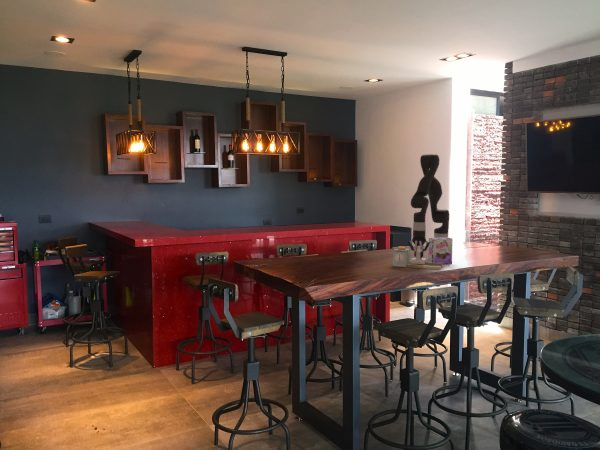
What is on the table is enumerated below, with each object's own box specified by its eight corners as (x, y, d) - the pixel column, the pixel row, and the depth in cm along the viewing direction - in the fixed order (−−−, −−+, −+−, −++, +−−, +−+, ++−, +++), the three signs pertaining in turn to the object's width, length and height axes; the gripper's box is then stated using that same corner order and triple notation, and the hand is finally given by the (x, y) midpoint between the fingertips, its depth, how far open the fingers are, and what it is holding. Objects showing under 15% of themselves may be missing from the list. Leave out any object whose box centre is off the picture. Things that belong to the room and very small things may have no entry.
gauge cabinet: (397, 263, 320) (397, 248, 320) (409, 264, 317) (410, 248, 316) (392, 266, 311) (393, 250, 310) (405, 267, 307) (405, 250, 307)
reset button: (399, 252, 316) (399, 246, 316) (406, 253, 314) (406, 246, 314) (397, 253, 312) (397, 247, 312) (404, 254, 311) (404, 247, 310)
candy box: (432, 264, 317) (432, 238, 316) (427, 263, 323) (428, 237, 321) (452, 263, 320) (452, 238, 318) (447, 262, 325) (448, 237, 324)
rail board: (409, 264, 317) (410, 259, 317) (443, 267, 308) (443, 262, 307) (405, 267, 308) (405, 262, 308) (439, 269, 299) (440, 264, 298)
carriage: (413, 261, 315) (414, 249, 314) (426, 262, 311) (426, 250, 310) (410, 263, 307) (410, 251, 307) (423, 264, 304) (423, 251, 303)
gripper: (432, 229, 308) (431, 257, 309) (409, 228, 314) (409, 256, 315) (429, 230, 301) (428, 259, 302) (406, 229, 307) (405, 257, 309)
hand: (418, 257), depth 309 cm, fingers closed on carriage, 2 cm apart
